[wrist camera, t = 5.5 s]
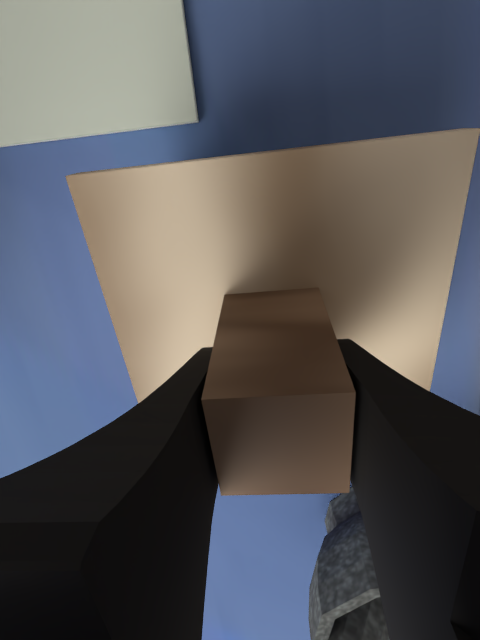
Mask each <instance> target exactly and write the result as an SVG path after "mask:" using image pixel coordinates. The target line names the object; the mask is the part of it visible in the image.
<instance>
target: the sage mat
mask: <svg viewBox="0 0 480 640" xmlns="http://www.w3.org/2000/svg"><path fill="white" fill-rule="evenodd" d="M198 122H199V119H198V112H197V104H196V97H195V89H194V81H193V74H192V66H191V59H190V51H189V43H188V36H187V28H186V20H185V13H184V5H183V0H0V147H7V146H15V145H23V144H31V143H39V142H47V141H55V140H63V139H70V138H78V137H86V136H94V135H102V134H110V133H118V132H126V131H134V130H142V129H150V128H158V127H166V126H174V125H182V124H190V123H198Z"/></svg>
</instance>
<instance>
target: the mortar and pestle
mask: <svg viewBox="0 0 480 640" xmlns="http://www.w3.org/2000/svg"><path fill="white" fill-rule="evenodd" d="M325 524H326V529H327V533H328V534H327V535H326V536H325V538H324V541H323V543H322V546H321V549H320V552H319V555H318V558H317V561H316V565H315V569H314V573H313V576H312V580H311V584H310V590H309V627H310V636H311V640H390V639H389V634H388V630H387V625H386V620H385V615H384V610H383V606H382V601H381V597H380V592H379V588H378V583H377V579H376V574H375V570H374V565H373V561H372V556H371V552H370V548H369V543H368V539H367V535H366V531H365V526H364V522H363V518H362V515H361V511H360V508H359V504H358V501H357V498H356V495H355V492H354V489H353V487H351V488H350V490H349V493H342V494H341V495H339V496H338V497H336V498H335V499H333V500H332V501H331V502H330V503H329V507H328V511H327V515H326V519H325Z"/></svg>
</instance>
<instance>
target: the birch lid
mask: <svg viewBox="0 0 480 640" xmlns="http://www.w3.org/2000/svg"><path fill="white" fill-rule="evenodd" d="M479 133H480V128H461V129H453V130H444V131H435V132H427V133H418V134H410V135H401V136H392V137H384V138H375V139H366V140H358V141H349V142H340V143H332V144H323V145H314V146H306V147H297V148H288V149H280V150H271V151H263V152H254V153H245V154H237V155H228V156H219V157H211V158H202V159H193V160H185V161H176V162H167V163H159V164H150V165H141V166H133V167H124V168H116V169H107V170H98V171H90V172H81V173H76V174H72V175H68V176H66V180H67V183H68V186H69V189H70V192H71V195H72V198H73V201H74V204H75V208H76V211H77V214H78V217H79V220H80V223H81V226H82V229H83V232H84V236H85V239H86V242H87V245H88V248H89V251H90V254H91V257H92V260H93V264H94V267H95V270H96V273H97V276H98V279H99V282H100V285H101V288H102V292H103V295H104V298H105V301H106V304H107V307H108V310H109V313H110V316H111V320H112V323H113V326H114V329H115V332H116V335H117V338H118V341H119V344H120V348H121V351H122V354H123V357H124V360H125V363H126V366H127V369H128V372H129V376H130V379H131V382H132V385H133V388H134V391H135V394H136V397H137V400H138V404H139V403H140V402H141V401H143V400H144V399H145V398H146V397H147V396H149V395H150V394H151V393H152V392H153V391H155V390H156V389H157V388H158V387H160V386H161V385H162V384H163V383H164V382H166V381H167V380H168V379H169V378H170V377H171V376H172V375H173V374H174V373H175V372H177V371H178V370H179V369H180V368H181V367H182V366H183V365H184V364H185V363H186V362H187V361H188V360H189V359H190V358H191V357H192V356H193V355H194V354H196V353H197V352H198V351H199V350H200V349H201V348H204V347H213V349H212V353H211V358H210V362H209V367H208V371H207V376H206V380H205V385H204V390H203V394H202V399H201V401H202V405H203V410H204V415H205V420H206V425H207V429H208V434H209V439H210V444H211V449H212V453H213V458H214V463H215V468H216V473H217V477H218V482H219V487H220V492H221V495H270V494H320V493H349V490H350V474H351V459H352V443H353V428H354V412H355V396H356V392H355V389H354V386H353V383H352V380H351V378H350V375H349V372H348V369H347V366H346V364H345V361H344V358H343V355H342V352H341V350H340V347H339V344H338V341H337V339H351V340H352V341H354V342H355V343H357V344H358V345H359V346H361V347H362V348H363V349H365V350H366V351H368V352H369V353H370V354H372V355H373V356H374V357H376V358H377V359H379V360H380V361H381V362H383V363H384V364H386V365H387V366H389V367H390V368H392V369H393V370H395V371H396V372H398V373H399V374H401V375H403V376H404V377H406V378H407V379H409V380H411V381H412V382H414V383H416V384H417V385H419V386H421V387H423V388H424V389H426V390H428V391H430V387H431V382H432V377H433V372H434V366H435V361H436V356H437V351H438V346H439V340H440V335H441V330H442V325H443V320H444V315H445V309H446V304H447V299H448V294H449V289H450V283H451V278H452V273H453V268H454V263H455V258H456V252H457V247H458V242H459V237H460V232H461V226H462V221H463V216H464V211H465V206H466V200H467V195H468V190H469V185H470V180H471V175H472V169H473V164H474V159H475V154H476V149H477V143H478V138H479Z"/></svg>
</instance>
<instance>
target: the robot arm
mask: <svg viewBox="0 0 480 640" xmlns="http://www.w3.org/2000/svg"><path fill="white" fill-rule="evenodd" d="M337 341H338V344H339V347H340V350H341V352H342V355H343V358H344V361H345V364H346V366H347V369H348V372H349V375H350V378H351V380H352V383H353V386H354V389H355V392H356V396H355V412H354V428H353V443H352V459H351V474H350V480H351V483H352V486H353V489H354V492H355V495H356V498H357V501H358V504H359V508H360V511H361V515H362V518H363V522H364V526H365V531H366V535H367V539H368V543H369V548H370V552H371V556H372V561H373V565H374V570H375V574H376V579H377V583H378V588H379V592H380V597H381V601H382V606H383V610H384V615H385V620H386V625H387V630H388V634H389V639H390V640H480V416H479V415H477V414H474V413H472V412H470V411H467V410H465V409H463V408H461V407H459V406H457V405H455V404H453V403H451V402H449V401H447V400H445V399H443V398H441V397H439V396H437V395H435V394H433V393H431V392H430V391H428V390H426V389H424V388H423V387H421V386H419V385H417V384H416V383H414V382H412V381H411V380H409V379H407V378H406V377H404V376H403V375H401V374H399V373H398V372H396V371H395V370H393V369H392V368H390V367H389V366H387V365H386V364H384V363H383V362H381V361H380V360H379V359H377V358H376V357H374V356H373V355H372V354H370V353H369V352H368V351H366V350H365V349H363V348H362V347H361V346H359V345H358V344H357V343H355V342H354V341H352V340H351V339H337ZM212 349H213V347H204V348H201V349H200V350H199V351H198V352H197V353H196V354H194V355H193V356H192V357H191V358H190V359H189V360H188V361H187V362H186V363H185V364H184V365H183V366H182V367H181V368H180V369H179V370H178V371H177V372H175V373H174V374H173V375H172V376H171V377H170V378H169V379H168V380H167V381H166V382H164V383H163V384H162V385H161V386H160V387H158V388H157V389H156V390H155V391H153V392H152V393H151V394H150V395H149V396H147V397H146V398H145V399H144V400H143V401H141V402H140V403H139V404H137V405H136V406H134V407H133V408H132V409H130V410H129V411H127V412H126V413H124V414H123V415H122V416H120V417H119V418H117V419H116V420H114V421H113V422H111V423H109V424H108V425H106V426H105V427H103V428H101V429H99V430H98V431H96V432H94V433H92V434H91V435H89V436H87V437H85V438H84V439H82V440H80V441H78V442H77V443H75V444H73V445H71V446H69V447H68V448H66V449H64V450H62V451H60V452H58V453H56V454H54V455H52V456H50V457H48V458H45V459H43V460H41V461H39V462H37V463H35V464H33V465H30V466H28V467H26V468H24V469H22V470H19V471H17V472H15V473H13V474H10V475H8V476H5V477H3V478H0V640H201V639H202V626H203V612H204V600H205V588H206V577H207V565H208V555H209V544H210V534H211V524H212V516H213V510H214V504H215V498H216V493H217V488H218V483H219V482H218V477H217V473H216V468H215V463H214V458H213V453H212V449H211V444H210V439H209V434H208V429H207V425H206V420H205V415H204V410H203V405H202V401H201V399H202V394H203V390H204V385H205V380H206V376H207V371H208V367H209V362H210V358H211V353H212Z"/></svg>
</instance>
